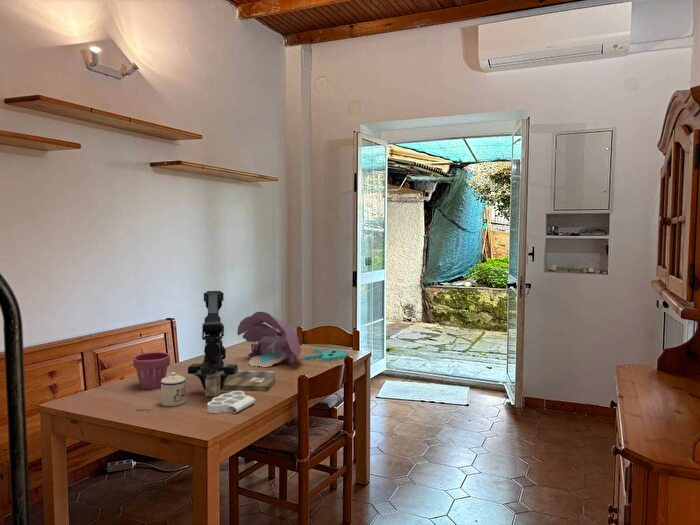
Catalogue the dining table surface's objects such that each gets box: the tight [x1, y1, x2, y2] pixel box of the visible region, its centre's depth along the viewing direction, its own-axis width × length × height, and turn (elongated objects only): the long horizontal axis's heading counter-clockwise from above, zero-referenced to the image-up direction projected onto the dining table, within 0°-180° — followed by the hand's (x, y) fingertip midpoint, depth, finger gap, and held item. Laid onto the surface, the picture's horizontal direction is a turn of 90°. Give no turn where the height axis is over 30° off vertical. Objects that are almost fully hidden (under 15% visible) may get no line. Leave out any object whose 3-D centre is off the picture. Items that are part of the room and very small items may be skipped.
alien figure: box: [303, 347, 349, 362], centre depth 259 cm, size 20×2×20 cm
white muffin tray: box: [206, 390, 256, 414], centre depth 184 cm, size 3×18×15 cm
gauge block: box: [205, 374, 222, 398], centre depth 197 cm, size 4×6×7 cm, turn 176°
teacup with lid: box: [160, 371, 187, 408], centre depth 188 cm, size 12×9×12 cm
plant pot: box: [132, 351, 171, 390], centre depth 207 cm, size 14×14×13 cm
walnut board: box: [214, 370, 276, 392], centre depth 209 cm, size 26×13×4 cm, turn 86°
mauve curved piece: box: [236, 311, 302, 368], centre depth 246 cm, size 35×24×28 cm
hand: (213, 390), depth 197 cm, fingers open, 6 cm apart
